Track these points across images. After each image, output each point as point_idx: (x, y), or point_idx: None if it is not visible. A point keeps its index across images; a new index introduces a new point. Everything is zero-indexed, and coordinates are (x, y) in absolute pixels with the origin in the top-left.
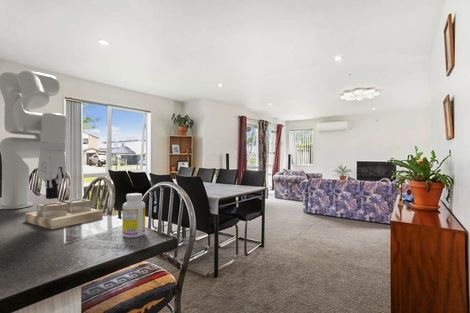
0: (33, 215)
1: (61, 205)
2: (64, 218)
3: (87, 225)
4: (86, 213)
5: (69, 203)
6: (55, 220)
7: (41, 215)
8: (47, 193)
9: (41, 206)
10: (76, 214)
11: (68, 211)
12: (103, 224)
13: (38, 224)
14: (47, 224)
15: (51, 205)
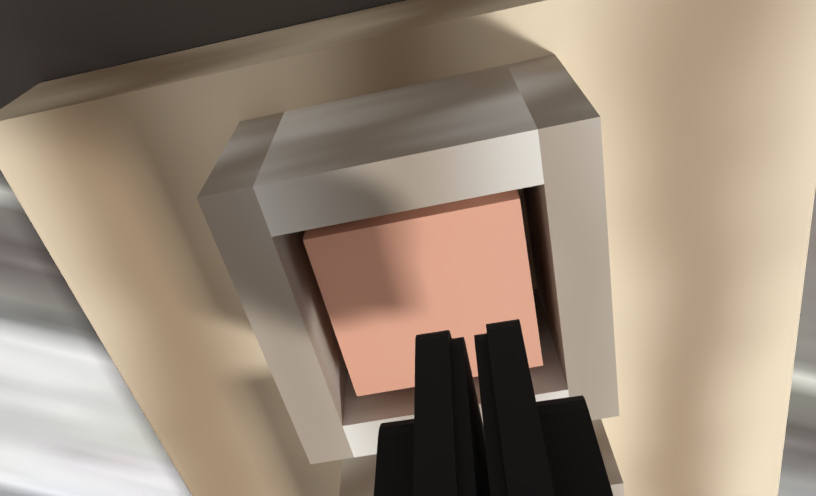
0: (541, 2)
1: (280, 385)
2: (64, 266)
3: (39, 371)
4: (194, 478)
5: None
6: (6, 162)
7: (403, 89)
8: (453, 417)
9: (407, 148)
10: (200, 405)
11: None
12: (4, 462)
13: (371, 10)
14: (128, 72)
15: (429, 293)
